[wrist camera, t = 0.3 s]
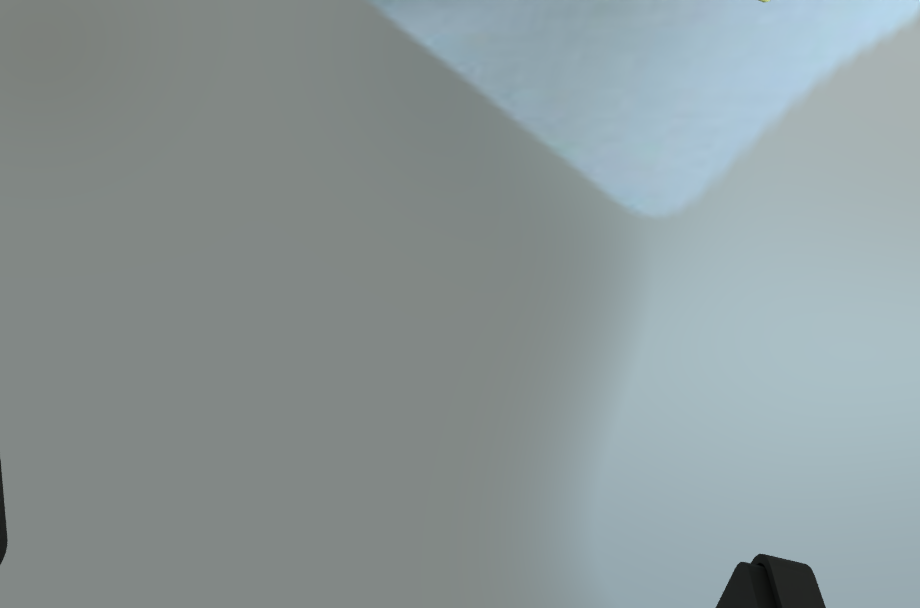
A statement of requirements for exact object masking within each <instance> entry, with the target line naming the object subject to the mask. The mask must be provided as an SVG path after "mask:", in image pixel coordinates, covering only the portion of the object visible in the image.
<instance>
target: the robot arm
mask: <svg viewBox="0 0 920 608" xmlns="http://www.w3.org/2000/svg"><path fill="white" fill-rule="evenodd" d="M6 548H7V531H6V519H5V507H4V495H3V484H2V472H1V461H0V564H1V562H2V560H3V558H4V555H5V553H6ZM716 608H826V607H825V605H824V601H823V599H822V596H821V593H820V590H819V587H818V584H817V581H816V578H815V575H814V573H813V571H812V569H811V568H810V567H809V566H808V565H806V564H803V563H799V562H795V561H790V560H786V559H782V558H778V557H773V556H769V555H765V554H758V555H757V556H756V557H755V558H754V559H753V561H752V562H751V564H750V563H746V562H740V563H739V564H738V565H737V567H736V568H735V570H734V572H733V574H732V576H731V578H730V580H729V582H728V584H727V586H726V588H725V590H724V592H723V594H722V597H721V598H720V600H719V602H718V604H717V606H716Z"/></svg>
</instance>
